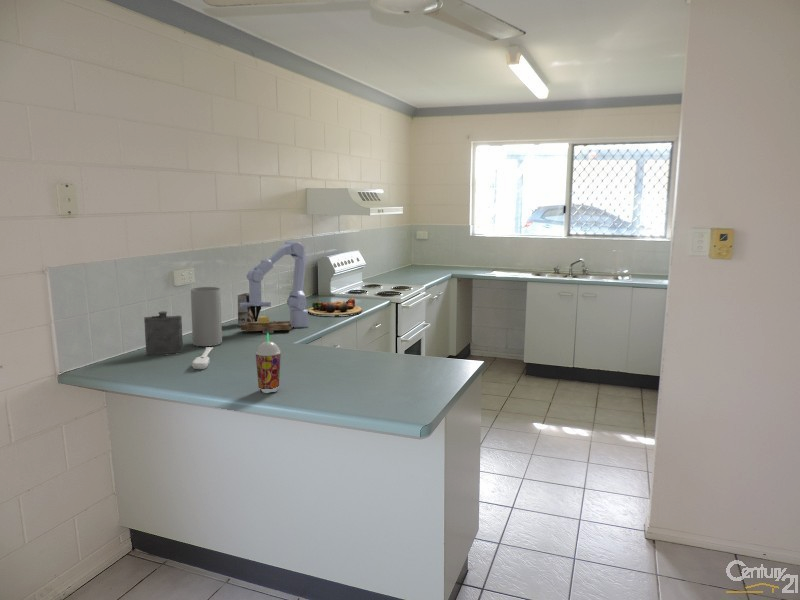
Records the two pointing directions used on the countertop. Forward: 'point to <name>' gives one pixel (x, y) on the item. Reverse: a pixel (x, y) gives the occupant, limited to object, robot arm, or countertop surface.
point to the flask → (163, 334)
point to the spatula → (202, 360)
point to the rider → (263, 319)
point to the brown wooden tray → (266, 326)
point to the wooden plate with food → (335, 308)
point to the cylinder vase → (206, 316)
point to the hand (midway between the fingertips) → (255, 321)
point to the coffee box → (244, 310)
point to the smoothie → (268, 364)
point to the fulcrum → (268, 331)
